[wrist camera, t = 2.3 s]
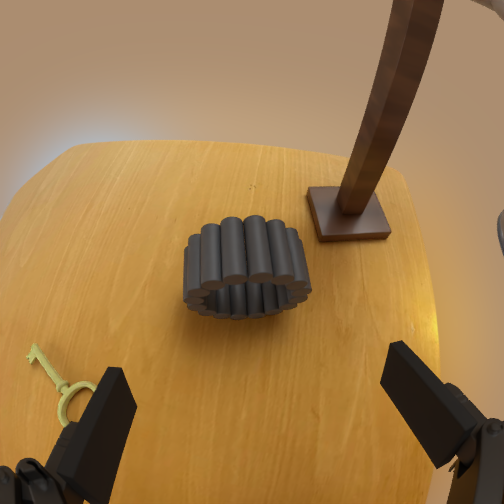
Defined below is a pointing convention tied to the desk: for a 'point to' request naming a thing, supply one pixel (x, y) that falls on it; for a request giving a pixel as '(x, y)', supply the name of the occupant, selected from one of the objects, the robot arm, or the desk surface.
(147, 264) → the desk surface
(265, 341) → the desk surface
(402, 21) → the brown pillar stand
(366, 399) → the desk surface
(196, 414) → the desk surface
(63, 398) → the key
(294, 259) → the grey cylinder ring
